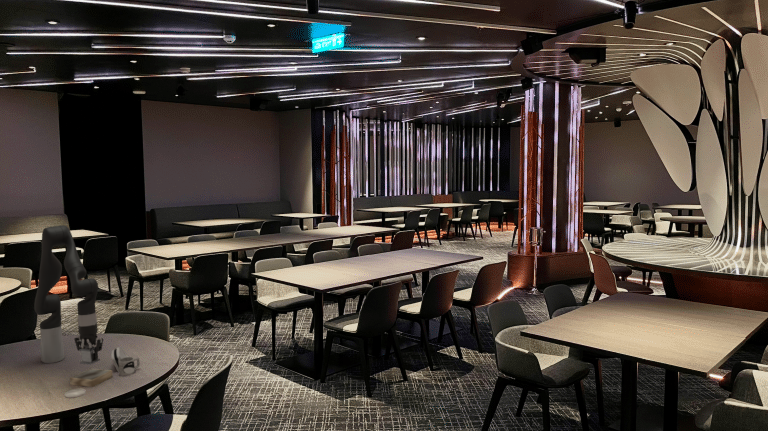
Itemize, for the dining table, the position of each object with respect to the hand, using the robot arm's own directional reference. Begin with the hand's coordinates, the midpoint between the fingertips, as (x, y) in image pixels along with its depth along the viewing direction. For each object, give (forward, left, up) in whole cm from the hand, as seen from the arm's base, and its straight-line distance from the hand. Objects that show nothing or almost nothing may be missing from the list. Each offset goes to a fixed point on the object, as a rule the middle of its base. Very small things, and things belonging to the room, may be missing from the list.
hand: (90, 359), depth 255 cm
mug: (+10, +13, -10) cm, 19 cm away
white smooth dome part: (+4, -14, -10) cm, 18 cm away
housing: (0, 0, -1) cm, 1 cm away
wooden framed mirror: (0, 0, -10) cm, 10 cm away
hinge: (0, +19, -10) cm, 22 cm away
